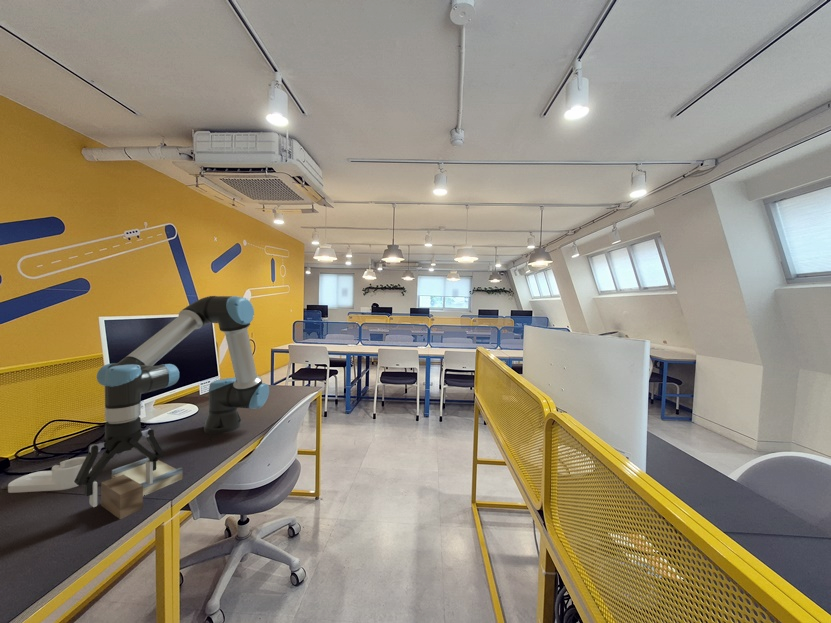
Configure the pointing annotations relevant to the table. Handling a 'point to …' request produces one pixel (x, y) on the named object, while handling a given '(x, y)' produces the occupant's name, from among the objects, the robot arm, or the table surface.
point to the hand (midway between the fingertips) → (123, 493)
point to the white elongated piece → (49, 478)
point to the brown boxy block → (121, 496)
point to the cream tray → (161, 475)
